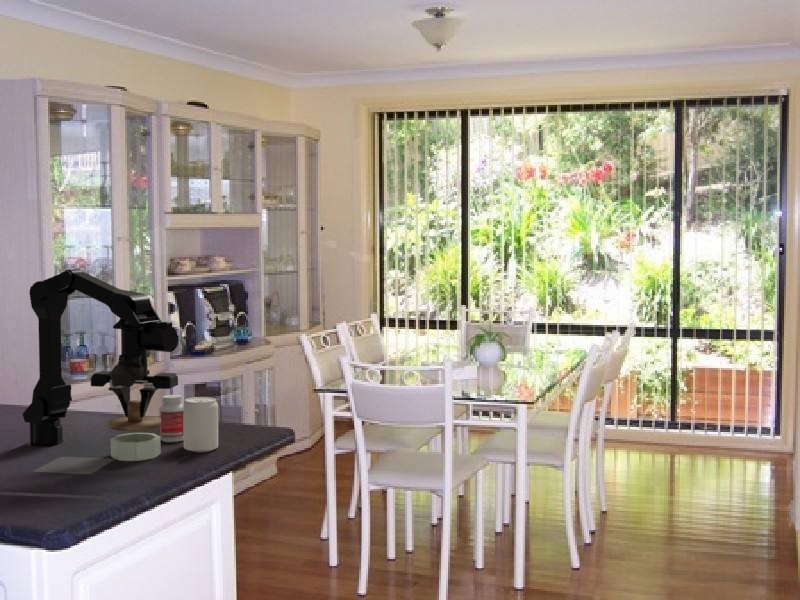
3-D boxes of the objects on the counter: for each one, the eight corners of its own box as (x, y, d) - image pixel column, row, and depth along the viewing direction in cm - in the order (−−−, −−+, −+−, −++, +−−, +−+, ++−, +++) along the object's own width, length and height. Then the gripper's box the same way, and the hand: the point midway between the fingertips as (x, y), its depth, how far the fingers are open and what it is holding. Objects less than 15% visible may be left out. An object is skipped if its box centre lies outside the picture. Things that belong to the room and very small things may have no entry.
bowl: (105, 462, 210) (104, 442, 210) (123, 451, 220) (123, 432, 220) (148, 464, 209) (148, 443, 208) (165, 453, 219) (165, 433, 218)
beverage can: (188, 454, 217) (188, 403, 216) (179, 447, 225) (179, 398, 224) (222, 451, 221) (222, 401, 220) (212, 444, 228) (212, 395, 227)
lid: (99, 429, 209) (99, 405, 208) (121, 419, 220) (120, 396, 220) (149, 431, 207) (149, 407, 207) (168, 420, 219) (168, 397, 218)
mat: (32, 474, 199) (32, 471, 199) (61, 459, 212) (61, 456, 212) (90, 476, 198) (90, 474, 198) (116, 461, 211) (116, 458, 211)
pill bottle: (189, 441, 231) (188, 396, 230) (164, 444, 228) (164, 399, 227) (180, 436, 236) (179, 392, 235) (156, 439, 233) (155, 395, 232)
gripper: (78, 352, 205) (80, 423, 207) (160, 355, 203) (161, 426, 205) (100, 346, 217) (101, 412, 218) (178, 348, 214) (179, 415, 216)
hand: (135, 417), depth 214 cm, fingers closed on lid, 3 cm apart
